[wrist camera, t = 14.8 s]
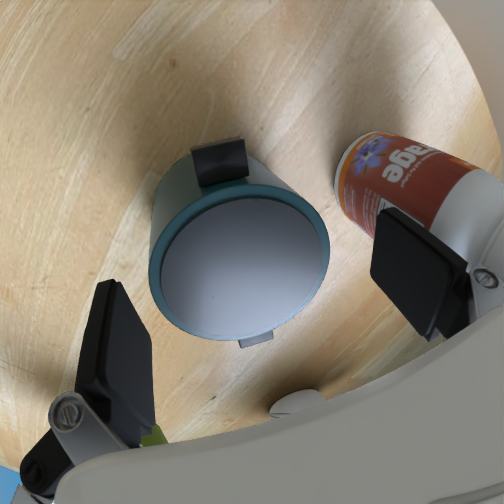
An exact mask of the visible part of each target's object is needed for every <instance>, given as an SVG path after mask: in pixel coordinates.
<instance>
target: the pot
mask: <svg viewBox="0 0 504 504" xmlns="http://www.w3.org/2000/svg"><path fill="white" fill-rule="evenodd" d="M190 153H191V154H189V155H187V156H185V157H184V158H182V159H181V160H179V161H178V162H177V163H176V164H174V165H173V166H172V167H171V168H170V169H169V170H168V171H167V173H166V174H165V175H164V177H163V178H162V180H161V182H160V184H159V186H158V188H157V191H156V194H155V198H154V203H153V212H152V223H151V235H150V249H149V267H148V277H149V286H150V291H151V294H152V297H153V299H154V301H155V303H156V305H157V307H158V308H159V310H160V311H161V312H162V314H163V315H164V316H165V317H166V318H167V319H168V320H169V321H170V322H171V323H172V324H174V325H175V326H176V327H178V328H179V329H181V330H183V331H185V332H187V333H189V334H191V335H194V336H197V337H201V338H205V339H210V340H219V341H230V340H238V342H239V345H240V348H245V347H248V346H252V345H255V344H258V343H261V342H264V341H268V340H271V339H273V332H272V330H273V329H275V328H277V327H279V326H281V325H282V324H284V323H286V322H287V321H289V320H290V319H291V318H293V317H294V316H295V315H296V314H298V313H299V312H300V311H301V310H302V309H303V308H304V307H305V306H306V305H307V304H308V303H309V302H310V300H311V299H312V298H313V297H314V295H315V294H316V292H317V291H318V289H319V288H320V286H321V284H322V282H323V280H324V277H325V275H326V272H327V268H328V264H329V258H330V241H329V236H328V232H327V229H326V226H325V224H324V222H323V220H322V218H321V217H320V215H319V213H318V212H317V211H316V210H315V209H314V207H313V206H312V205H311V204H309V203H308V202H307V201H306V200H305V199H304V198H302V197H301V196H300V195H299V194H298V193H297V192H295V191H294V190H293V189H292V188H291V187H289V186H288V185H287V184H286V183H285V182H283V181H282V180H281V179H280V178H278V177H277V176H276V175H275V174H274V173H272V172H271V171H270V170H269V169H267V168H266V167H265V166H264V165H262V164H261V163H260V162H259V161H257V160H256V159H255V158H254V157H252V156H250V155H248V154H247V153H246V147H245V141H244V139H243V138H241V137H234V138H229V139H224V140H219V141H215V142H210V143H206V144H202V145H198V146H193V147H191V148H190Z"/></svg>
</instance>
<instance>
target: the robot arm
mask: <svg viewBox="0 0 504 504" xmlns="http://www.w3.org/2000/svg"><path fill="white" fill-rule="evenodd" d="M467 266H468V262H467V261H466V260H464V259H463V258H462V257H461V256H460V255H458V254H457V253H456V252H455V251H454V250H452V249H451V248H450V247H449V246H447V245H446V244H445V243H444V242H442V241H441V240H440V239H438V238H437V237H436V236H435V235H433V234H432V233H431V232H429V231H428V230H427V229H425V228H424V227H423V226H421V225H420V224H419V223H417V222H416V221H414V220H413V219H412V218H410V217H409V216H407V215H406V214H405V213H403V212H402V211H400V210H399V209H397V208H396V207H390V208H386V209H382V210H380V212H379V214H378V215H377V217H376V226H375V235H374V244H373V253H372V260H371V268H370V275H371V277H372V279H373V280H374V282H375V283H376V284H377V285H378V286H379V287H380V288H381V289H382V291H383V292H384V293H385V294H386V295H387V296H388V297H389V299H390V300H391V301H392V302H393V303H394V304H395V306H396V307H397V308H398V309H399V310H400V312H401V313H402V314H403V315H404V316H405V318H406V319H407V320H408V321H409V322H410V324H411V325H412V326H413V327H414V328H415V330H416V331H417V332H418V333H419V334H420V335H421V336H424V337H425V338H426V340H427V341H428V342H429V341H431V340H432V339H434V338H436V337H437V336H438V335H439V333H441V334H442V335H443V343H441V344H440V345H438V346H437V347H435V348H433V349H432V350H430V351H428V352H427V353H425V354H423V355H422V356H420V357H418V358H416V359H414V360H413V361H411V362H409V363H407V364H405V365H404V366H402V367H400V368H398V369H396V370H394V371H392V372H390V373H388V374H386V375H384V376H382V377H380V378H378V379H376V380H374V381H372V382H370V383H368V384H366V385H363V386H361V387H359V388H357V389H355V390H352V391H350V392H348V393H345V394H343V395H341V396H338V397H336V398H333V399H331V400H328V401H326V402H323V403H321V404H318V405H315V406H313V407H310V408H307V409H304V410H301V411H299V412H296V413H293V414H290V415H287V416H284V417H280V418H277V419H274V420H271V421H267V422H264V423H261V424H257V425H253V426H250V427H246V428H242V429H238V430H234V431H230V432H225V433H221V434H216V435H212V436H207V437H202V438H197V439H192V440H187V441H181V442H175V443H169V444H162V445H154V446H148V447H143V446H142V445H141V443H142V442H141V436H148V435H152V427H153V426H155V410H154V395H153V375H152V342H151V338H150V335H149V333H148V331H147V329H146V328H145V326H144V324H143V323H142V321H141V319H140V317H139V315H138V314H137V312H136V310H135V308H134V306H133V304H132V303H131V301H130V299H129V297H128V295H127V293H126V291H125V289H124V287H123V285H122V284H121V282H116V281H115V280H114V279H110V280H106V281H103V282H99V283H98V284H97V286H96V290H95V294H94V297H93V301H92V305H91V309H90V313H89V317H88V322H87V326H86V328H85V332H84V336H83V341H82V346H81V351H80V357H79V363H78V369H77V375H76V382H75V389H74V391H67V392H64V393H62V394H60V395H59V396H57V397H56V398H55V400H54V401H53V402H52V404H51V406H50V408H49V413H48V420H49V424H50V426H51V428H50V430H49V431H48V432H47V433H46V434H45V435H44V436H43V437H42V438H41V439H40V440H39V442H38V443H37V444H36V445H35V446H34V447H33V448H32V449H31V450H30V451H29V453H28V454H27V455H26V456H25V457H24V459H23V460H22V462H21V465H20V477H21V481H22V483H23V485H20V484H18V486H17V489H16V491H15V494H14V496H13V498H12V501H11V504H504V285H503V282H502V280H501V278H500V276H499V275H498V273H497V272H496V271H494V270H493V269H492V268H490V267H488V266H484V265H475V266H473V267H472V268H471V269H470V271H469V273H468V272H466V269H467Z"/></svg>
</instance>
